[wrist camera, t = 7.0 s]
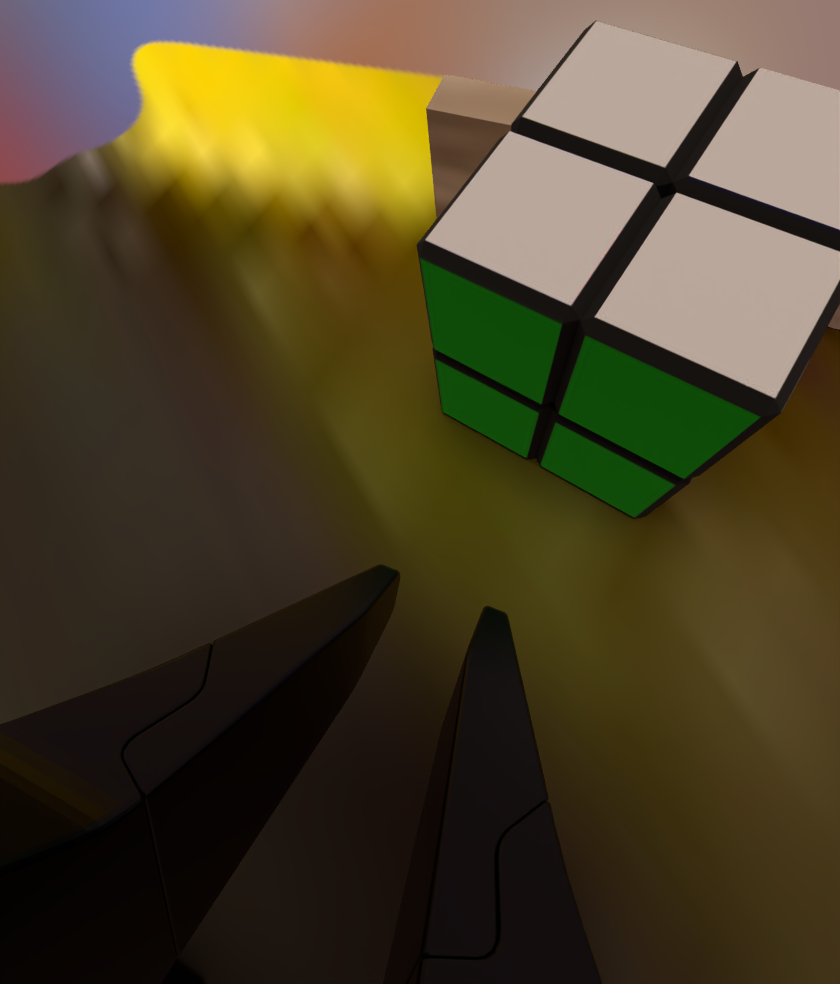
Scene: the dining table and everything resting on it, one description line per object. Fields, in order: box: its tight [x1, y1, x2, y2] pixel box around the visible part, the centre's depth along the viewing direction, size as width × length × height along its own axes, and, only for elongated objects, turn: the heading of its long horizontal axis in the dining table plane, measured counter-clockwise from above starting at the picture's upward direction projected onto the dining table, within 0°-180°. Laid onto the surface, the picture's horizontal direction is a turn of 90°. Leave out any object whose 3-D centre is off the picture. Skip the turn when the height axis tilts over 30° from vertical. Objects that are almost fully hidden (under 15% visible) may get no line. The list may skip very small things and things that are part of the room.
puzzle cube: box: [417, 21, 840, 518], centre depth 18 cm, size 10×10×10 cm
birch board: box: [426, 75, 840, 330], centre depth 21 cm, size 2×20×6 cm, turn 67°
